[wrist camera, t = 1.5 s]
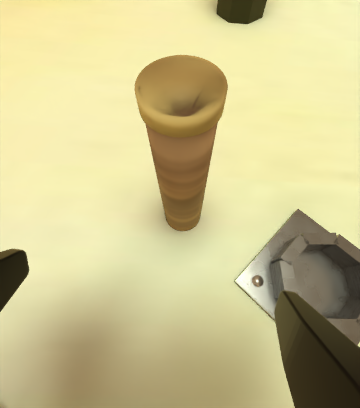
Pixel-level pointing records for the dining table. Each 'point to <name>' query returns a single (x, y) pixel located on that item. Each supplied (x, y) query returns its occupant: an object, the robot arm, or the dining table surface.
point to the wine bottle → (241, 10)
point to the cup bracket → (308, 273)
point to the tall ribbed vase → (181, 129)
